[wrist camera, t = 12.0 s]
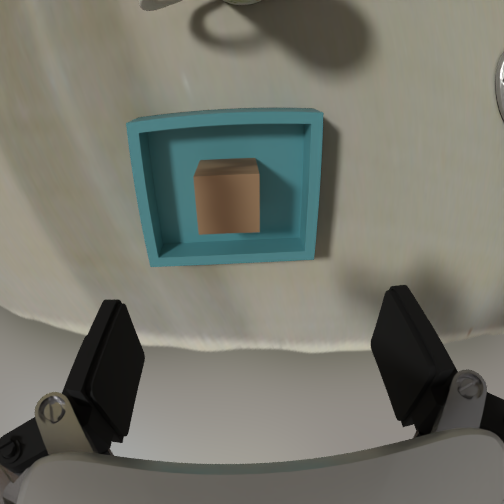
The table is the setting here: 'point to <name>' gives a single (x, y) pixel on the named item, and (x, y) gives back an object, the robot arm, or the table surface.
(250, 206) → the block
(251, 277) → the table surface
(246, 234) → the tray
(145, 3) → the mug
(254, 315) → the table surface
